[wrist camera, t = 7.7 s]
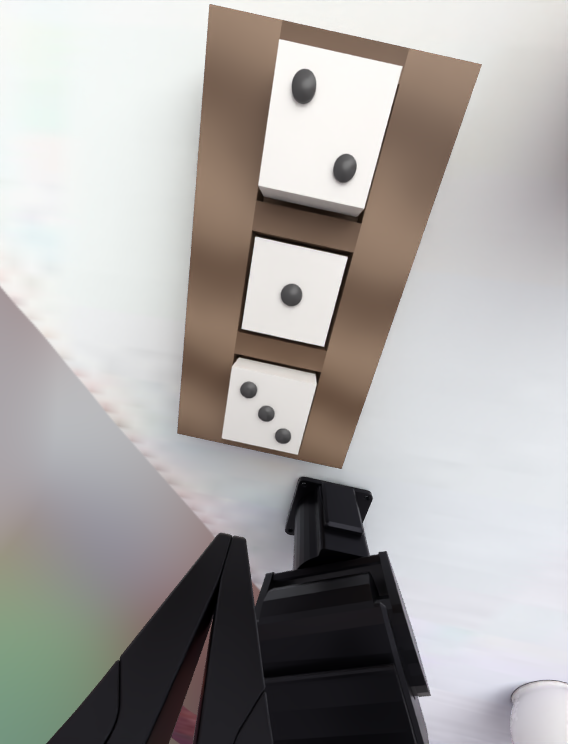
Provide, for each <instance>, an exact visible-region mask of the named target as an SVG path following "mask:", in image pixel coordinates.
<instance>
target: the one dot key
mask: <svg viewBox="0 0 568 744" xmlns="http://www.w3.org/2000/svg"><path fill="white" fill-rule="evenodd" d="M347 258H348V257H346V256H342V255H337V254H333V253H328V252H323V251H319V250H314V249H310V248H305V247H301V246H296V245H291V244H287V243H282V242H278V241H273V240H269V239H264V238H260V237H255V243H254V249H253V256H252V263H251V269H250V276H249V283H248V289H247V296H246V303H245V309H244V316H243V323H242V329H245V330H249V331H254V332H259V333H263V334H268V335H272V336H277V337H281V338H286V339H291V340H295V341H300V342H304V343H309V344H314V345H318V346H323V347H324V345H325V341H326V337H327V333H328V330H329V326H330V322H331V318H332V315H333V311H334V307H335V303H336V300H337V296H338V292H339V288H340V284H341V281H342V277H343V273H344V269H345V266H346V262H347Z"/></svg>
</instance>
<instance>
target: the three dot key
mask: <svg viewBox="0 0 568 744" xmlns="http://www.w3.org/2000/svg"><path fill="white" fill-rule="evenodd" d="M316 385H317V383H316V375H315V374H313V373H309V372H304V371H299V370H295V369H290V368H286V367H281V366H276V365H272V364H267V363H263V362H258V361H253V360H249V359H244V358H240V357H239V358H238V359H237V361H236V362H235V363H234V364H233V366H232V370H231V377H230V384H229V391H228V398H227V405H226V412H225V418H224V425H223V432H222V438H223V439H227V440H232V441H236V442H241V443H246V444H250V445H255V446H259V447H264V448H269V449H273V450H278V451H283V452H287V453H292V454H296V455H298V452H299V448H300V445H301V441H302V437H303V433H304V430H305V426H306V422H307V419H308V415H309V411H310V407H311V404H312V400H313V396H314V393H315V389H316Z"/></svg>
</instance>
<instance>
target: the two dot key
mask: <svg viewBox="0 0 568 744" xmlns="http://www.w3.org/2000/svg"><path fill="white" fill-rule="evenodd" d="M401 70H402V66H398V65H394V64H389V63H385V62H380V61H376V60H371V59H367V58H362V57H358V56H353V55H349V54H344V53H340V52H335V51H331V50H326V49H322V48H317V47H313V46H308V45H304V44H299V43H295V42H290V41H286V40H281V39H279V45H278V52H277V59H276V65H275V72H274V79H273V86H272V93H271V100H270V107H269V114H268V121H267V128H266V135H265V142H264V149H263V155H262V162H261V169H260V176H259V183H258V186H259V188H260V190H261V192H262V194H263V196H264V197H267V198H272V199H277V200H281V201H286V202H290V203H295V204H299V205H304V206H308V207H313V208H317V209H322V210H327V211H331V212H336V213H340V214H345V215H349V216H354V217H357V216H358V215H359V214H360V213H361V212H362V211H363V209H364V207H365V204H366V200H367V196H368V192H369V189H370V185H371V181H372V178H373V174H374V170H375V166H376V163H377V159H378V155H379V152H380V148H381V144H382V140H383V137H384V133H385V129H386V126H387V122H388V118H389V115H390V111H391V107H392V103H393V100H394V96H395V92H396V89H397V85H398V81H399V77H400V74H401Z"/></svg>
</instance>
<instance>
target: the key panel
mask: <svg viewBox="0 0 568 744" xmlns="http://www.w3.org/2000/svg"><path fill="white" fill-rule="evenodd" d="M279 39H281V40H286V41H290V42H295V43H299V44H304V45H308V46H313V47H317V48H322V49H326V50H331V51H335V52H340V53H344V54H349V55H353V56H358V57H362V58H367V59H371V60H376V61H380V62H385V63H389V64H394V65H398V66H402V70H401V74H400V77H399V81H398V85H397V89H396V92H395V96H394V100H393V103H392V107H391V111H390V115H389V118H388V122H387V126H386V129H385V133H384V137H383V140H382V144H381V148H380V152H379V155H378V159H377V163H376V166H375V170H374V174H373V178H372V181H371V185H370V189H369V192H368V196H367V200H366V204H365V207H364V209H363V211H362V212H361V213H360V214H359V215H358V216H357V217H354V216H349V215H345V214H340V213H336V212H331V211H327V210H322V209H317V208H313V207H308V206H304V205H299V204H295V203H290V202H286V201H281V200H277V199H272V198H267V197H264V196H263V194H262V192H261V190H260V188H259V186H258V183H259V176H260V169H261V162H262V155H263V149H264V142H265V135H266V128H267V121H268V114H269V107H270V100H271V93H272V86H273V79H274V72H275V65H276V59H277V52H278V45H279ZM481 65H482V64H478V63H473V62H469V61H464V60H460V59H455V58H451V57H446V56H442V55H437V54H433V53H428V52H424V51H419V50H415V49H410V48H406V47H401V46H397V45H392V44H388V43H383V42H379V41H374V40H370V39H365V38H361V37H356V36H352V35H347V34H343V33H338V32H334V31H329V30H325V29H320V28H316V27H311V26H307V25H302V24H298V23H293V22H289V21H284V20H280V19H275V18H271V17H266V16H262V15H257V14H253V13H248V12H244V11H239V10H234V9H230V8H225V7H221V6H216V5H212V4H209V18H208V31H207V44H206V57H205V71H204V84H203V97H202V111H201V124H200V137H199V151H198V164H197V177H196V191H195V204H194V217H193V231H192V244H191V257H190V271H189V284H188V297H187V311H186V324H185V337H184V351H183V364H182V377H181V391H180V404H179V417H178V431H177V433H178V434H182V435H187V436H192V437H196V438H201V439H205V440H210V441H215V442H219V443H224V444H228V445H233V446H238V447H242V448H247V449H252V450H256V451H261V452H265V453H270V454H275V455H279V456H284V457H288V458H293V459H298V460H302V461H307V462H312V463H316V464H321V465H325V466H330V467H335V468H339V469H342V466H343V463H344V460H345V457H346V454H347V451H348V448H349V446H350V443H351V440H352V437H353V434H354V431H355V428H356V425H357V423H358V420H359V417H360V414H361V411H362V408H363V405H364V402H365V399H366V397H367V394H368V391H369V388H370V385H371V382H372V379H373V376H374V374H375V371H376V368H377V365H378V362H379V359H380V356H381V353H382V350H383V348H384V345H385V342H386V339H387V336H388V333H389V330H390V327H391V325H392V322H393V319H394V316H395V313H396V310H397V307H398V304H399V302H400V299H401V296H402V293H403V290H404V287H405V284H406V281H407V278H408V276H409V273H410V270H411V267H412V264H413V261H414V258H415V255H416V253H417V250H418V247H419V244H420V241H421V238H422V235H423V232H424V230H425V227H426V224H427V221H428V218H429V215H430V212H431V209H432V206H433V204H434V201H435V198H436V195H437V192H438V189H439V186H440V183H441V181H442V178H443V175H444V172H445V169H446V166H447V163H448V160H449V157H450V155H451V152H452V149H453V146H454V143H455V140H456V137H457V134H458V132H459V129H460V126H461V123H462V120H463V117H464V114H465V111H466V109H467V106H468V103H469V100H470V97H471V94H472V91H473V88H474V85H475V83H476V80H477V77H478V74H479V71H480V68H481ZM255 237H260V238H264V239H269V240H273V241H278V242H282V243H287V244H291V245H296V246H301V247H305V248H310V249H314V250H319V251H323V252H328V253H333V254H337V255H342V256H346V257H348V258H347V262H346V266H345V269H344V273H343V277H342V281H341V284H340V288H339V292H338V296H337V300H336V303H335V307H334V311H333V315H332V318H331V322H330V326H329V330H328V333H327V337H326V341H325V345H324V347H323V346H318V345H314V344H309V343H304V342H300V341H295V340H291V339H286V338H281V337H277V336H272V335H268V334H263V333H259V332H254V331H249V330H245V329H242V323H243V316H244V309H245V303H246V296H247V289H248V283H249V276H250V269H251V263H252V256H253V249H254V243H255ZM239 357H240V358H244V359H249V360H253V361H258V362H263V363H267V364H272V365H276V366H281V367H286V368H290V369H295V370H299V371H304V372H309V373H313V374H315V375H316V383H317V385H316V389H315V393H314V396H313V400H312V404H311V407H310V411H309V415H308V419H307V422H306V426H305V430H304V433H303V437H302V441H301V445H300V448H299V452H298V455H296V454H292V453H287V452H283V451H278V450H273V449H269V448H264V447H259V446H255V445H250V444H246V443H241V442H236V441H232V440H227V439H223V438H222V432H223V425H224V418H225V412H226V405H227V398H228V391H229V384H230V377H231V370H232V366H233V364H234V363H235V362H236V361H237V359H238V358H239Z"/></svg>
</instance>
